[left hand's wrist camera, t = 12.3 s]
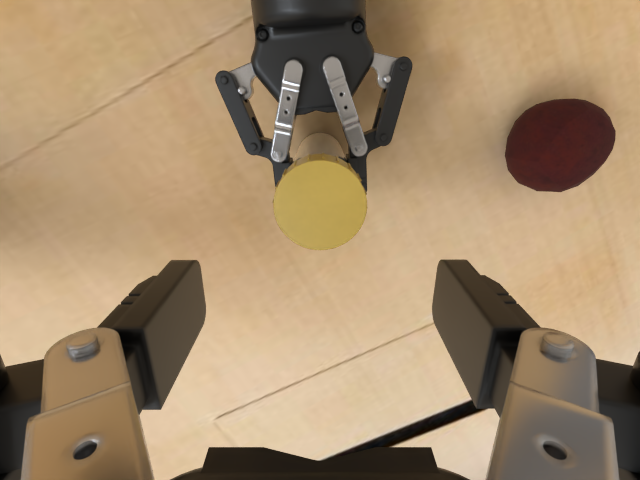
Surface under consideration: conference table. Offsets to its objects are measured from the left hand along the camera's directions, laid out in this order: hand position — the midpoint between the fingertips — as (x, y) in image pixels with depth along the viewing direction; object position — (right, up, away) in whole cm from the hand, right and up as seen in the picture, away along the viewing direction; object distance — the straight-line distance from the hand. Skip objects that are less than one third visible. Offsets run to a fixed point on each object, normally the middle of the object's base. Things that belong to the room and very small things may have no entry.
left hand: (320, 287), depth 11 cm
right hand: (0, +4, +18) cm, 19 cm away
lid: (0, +3, +8) cm, 9 cm away
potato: (+20, +11, +23) cm, 32 cm away
